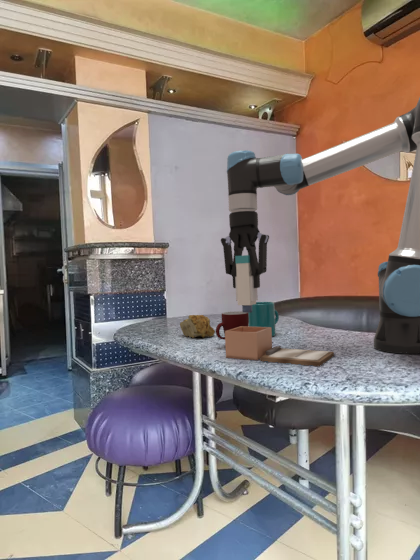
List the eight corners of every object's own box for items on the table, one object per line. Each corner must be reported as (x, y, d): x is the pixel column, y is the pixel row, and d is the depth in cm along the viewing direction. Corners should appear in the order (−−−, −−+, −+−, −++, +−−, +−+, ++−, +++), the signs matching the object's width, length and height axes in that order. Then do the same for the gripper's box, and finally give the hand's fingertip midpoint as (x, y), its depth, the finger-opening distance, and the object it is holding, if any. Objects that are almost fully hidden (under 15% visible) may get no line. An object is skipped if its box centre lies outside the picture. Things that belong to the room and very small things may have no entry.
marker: (256, 311, 109) (254, 255, 109) (250, 313, 106) (248, 255, 106) (244, 311, 111) (241, 256, 111) (237, 312, 108) (235, 256, 108)
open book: (334, 355, 104) (333, 347, 104) (319, 366, 94) (319, 357, 94) (279, 351, 112) (278, 344, 112) (260, 361, 102) (259, 353, 102)
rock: (187, 350, 145) (175, 325, 147) (206, 341, 150) (194, 317, 152) (202, 339, 135) (189, 313, 138) (222, 331, 141) (209, 305, 143)
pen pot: (272, 353, 111) (271, 327, 110) (257, 360, 103) (256, 332, 103) (242, 350, 116) (241, 326, 115) (225, 357, 108) (224, 331, 108)
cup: (287, 334, 139) (286, 301, 138) (260, 339, 132) (258, 304, 132) (270, 331, 146) (268, 300, 146) (243, 336, 140) (241, 303, 140)
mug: (226, 351, 116) (225, 316, 116) (210, 347, 123) (209, 314, 122) (255, 345, 122) (253, 312, 121) (238, 342, 128) (237, 310, 128)
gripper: (278, 209, 107) (281, 299, 108) (223, 216, 116) (226, 299, 116) (266, 206, 100) (270, 302, 101) (209, 214, 109) (213, 301, 110)
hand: (246, 300), depth 109 cm, fingers closed on marker, 3 cm apart
